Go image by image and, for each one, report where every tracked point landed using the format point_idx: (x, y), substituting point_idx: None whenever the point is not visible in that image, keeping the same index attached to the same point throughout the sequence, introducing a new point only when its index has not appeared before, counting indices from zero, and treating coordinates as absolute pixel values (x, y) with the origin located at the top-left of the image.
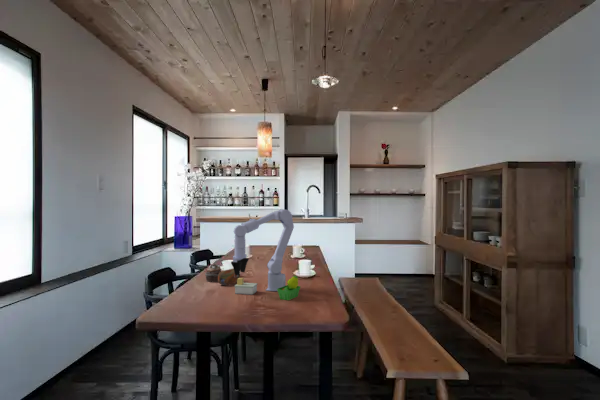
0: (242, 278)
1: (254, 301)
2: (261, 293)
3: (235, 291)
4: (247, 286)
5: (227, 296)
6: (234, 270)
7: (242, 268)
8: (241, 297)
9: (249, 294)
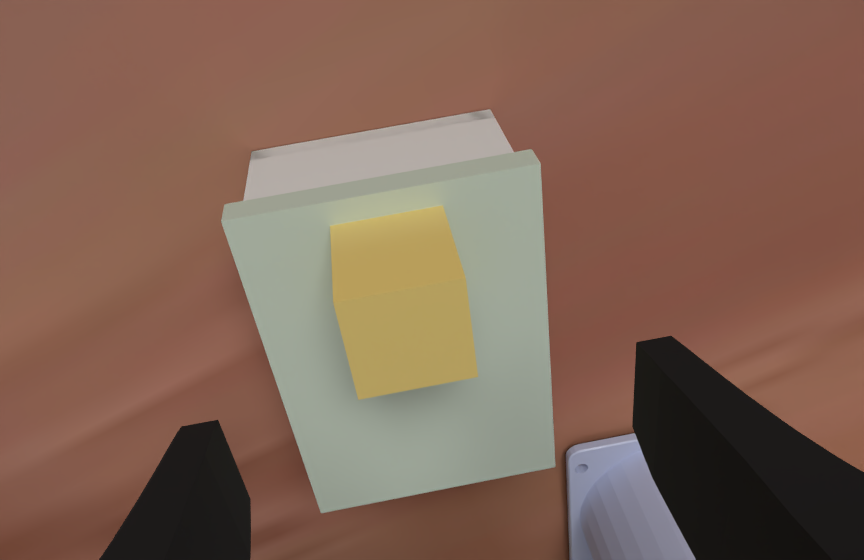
0: (432, 377)
1: (62, 550)
2: None
3: (251, 175)
4: (297, 442)
5: (17, 119)
6: (109, 555)
7: (685, 473)
8: (117, 349)
9: None
